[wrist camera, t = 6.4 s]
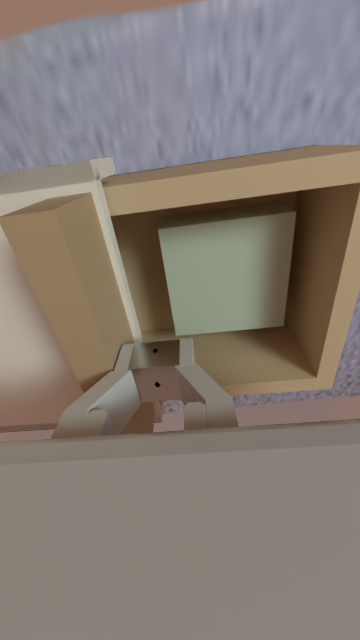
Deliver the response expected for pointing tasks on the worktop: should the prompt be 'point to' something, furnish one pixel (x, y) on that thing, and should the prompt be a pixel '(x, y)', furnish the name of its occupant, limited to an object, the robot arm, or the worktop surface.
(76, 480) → the robot arm
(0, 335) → the lid
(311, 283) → the tan open box
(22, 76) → the worktop surface
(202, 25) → the worktop surface
